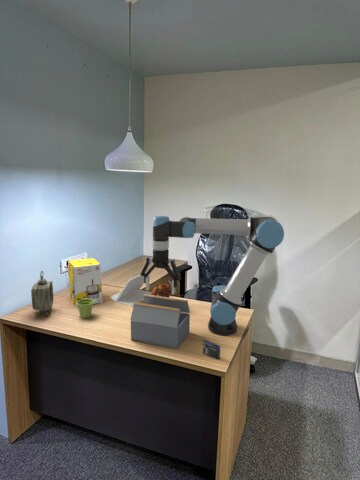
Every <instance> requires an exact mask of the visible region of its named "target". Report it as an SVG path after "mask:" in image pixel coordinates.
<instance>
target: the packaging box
mask: <svg viewBox="0 0 360 480" xmlns="http://www.w3.org/2000/svg"><path fill="white" fill-rule="evenodd" d="M67 263H68V264H67V265H68V268H67V269H68V280H69V281H68V283H69V285H68V286H69V297H70V301H71V303H72V304H73V305H74V307H75V308H78V305H77V301H78V300H81V299H92V300H94V302H93V305H96V304H101V303H103V291H102V290H103V289H102V288H103V287H102V264H101V262H99V261H98V260H97V259H95V258H93V257H92V258H91V257H90V258H83V259H74V260H68V261H67Z"/></svg>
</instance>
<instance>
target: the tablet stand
mask: <svg viewBox="0 0 360 480" xmlns="http://www.w3.org/2000/svg"><path fill="white" fill-rule="evenodd" d="M145 273H147V271H146V272H145ZM148 276H151V273H150V274H149V275H148ZM144 284H145V283H144V276H141V275H140V274H137V275H136V276H133V277H131V278H129V279H128V280H127V282H126V284H125V285H124V286H123V288H122V290H121V291H120V292H118V293H115V294H114V295H112V296H110V299H111V301H113V303H117V304H121V305H126V306H131V307H133V306H134V302H138V303H143V301H145V299H144V297H143V295H144V294H147V295H152V291H149V290H147V291H146V290H144V289H143V290H142V289H141V288H142V287H143V285H144Z"/></svg>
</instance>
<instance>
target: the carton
mask: <svg viewBox="0 0 360 480" xmlns="http://www.w3.org/2000/svg"><path fill="white" fill-rule="evenodd" d="M190 317H191V314H190V313H185V312H180V316H179V321H178V327H177V328H173V327H167V326H161V325H155V324H149V323H144V322H138V321H132V320H130V340H131V342H132V341H133V342H139V343H141V344H142V343H143V344H149V345H154V346H159V347H165V348H168V349H169V348H170V349H174V350H178V349H179V348H180V346H181V345H182V343H183V342H184V340H185V339H186V338H187V336H188V335H189V334H190V331H191V330H190V327H191V326H190V322H191V319H190Z"/></svg>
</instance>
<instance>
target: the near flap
mask: <svg viewBox="0 0 360 480" xmlns="http://www.w3.org/2000/svg"><path fill="white" fill-rule="evenodd" d="M180 310H181V309H178V308H171V307H165V306H158V305H151V304H146V302H145V303H143V302H140V303H138V302H134V306H132V311H131V314H130V315H131V316H130V319H129V320H130V321H131V320H132V321H138V322H144V323H149V324H155V325H161V326H167V327H173V328H177V327H178V321H179V316H180V313H181V312H180Z"/></svg>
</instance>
